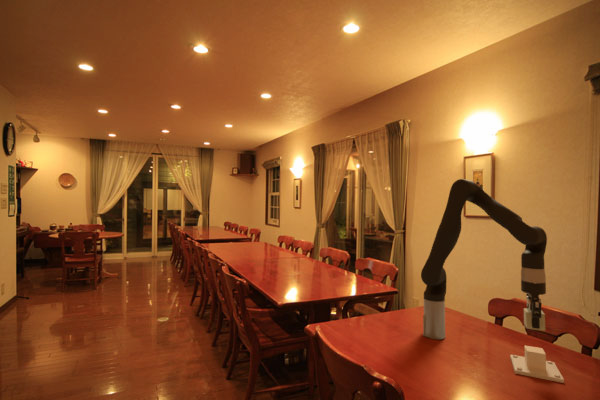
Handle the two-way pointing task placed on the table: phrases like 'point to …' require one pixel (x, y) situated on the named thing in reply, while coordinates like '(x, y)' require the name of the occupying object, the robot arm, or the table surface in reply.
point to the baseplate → (549, 374)
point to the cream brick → (535, 358)
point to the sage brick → (529, 320)
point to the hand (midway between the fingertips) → (534, 325)
